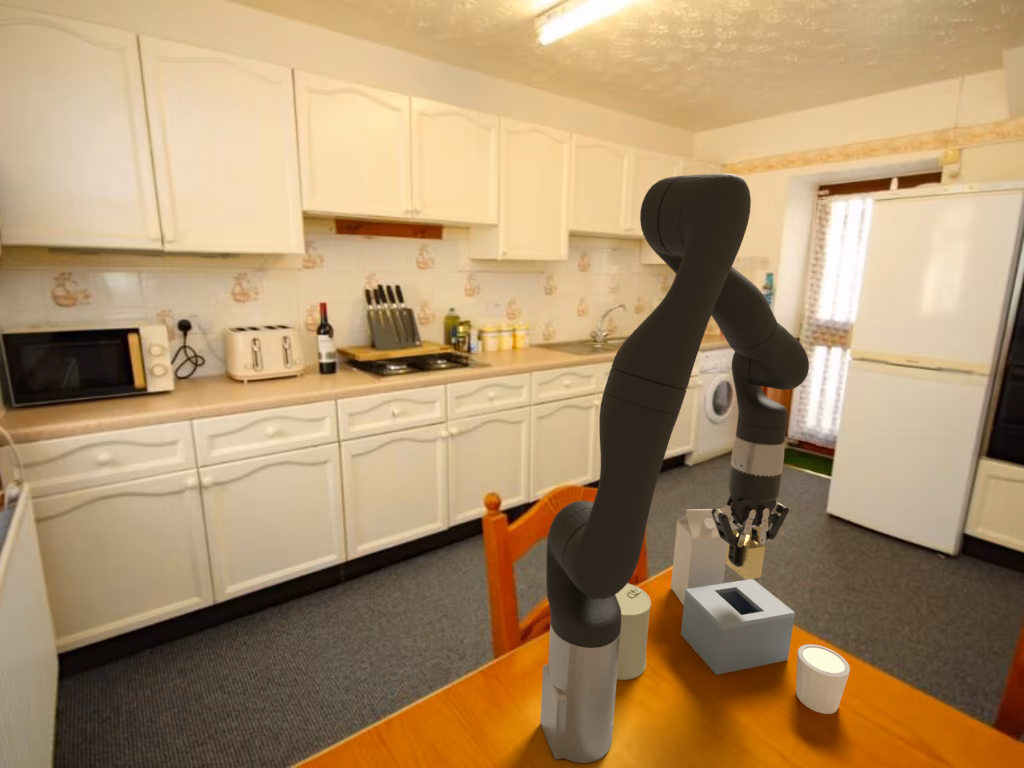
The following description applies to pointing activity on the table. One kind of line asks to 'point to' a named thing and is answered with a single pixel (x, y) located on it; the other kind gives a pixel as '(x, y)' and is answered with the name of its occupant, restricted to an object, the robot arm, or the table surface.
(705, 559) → the milk carton
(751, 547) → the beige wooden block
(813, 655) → the white cup
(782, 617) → the coin box
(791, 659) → the table surface
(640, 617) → the can
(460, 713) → the table surface
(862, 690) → the table surface
